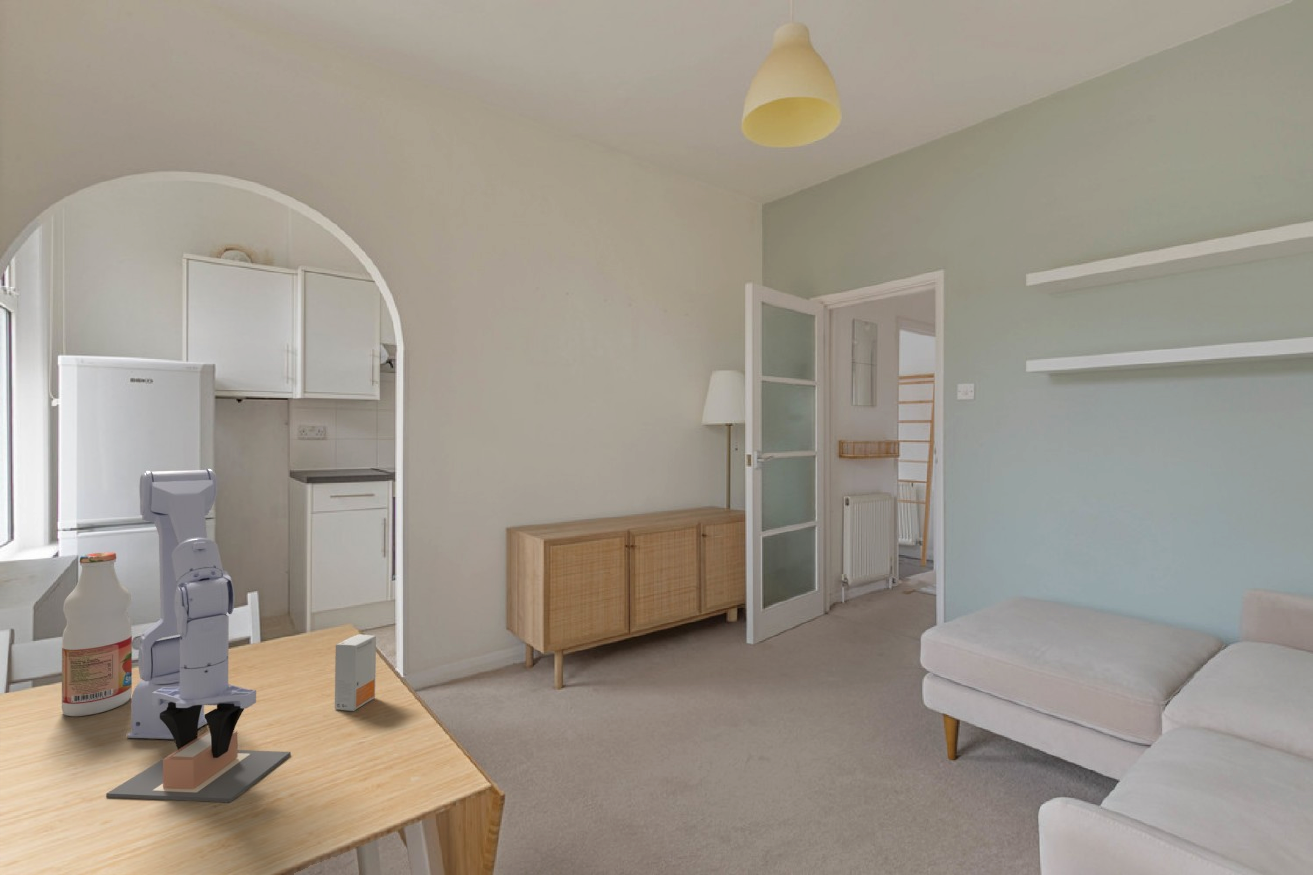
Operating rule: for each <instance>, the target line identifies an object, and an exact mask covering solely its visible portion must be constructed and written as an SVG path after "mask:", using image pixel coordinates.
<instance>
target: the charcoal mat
mask: <svg viewBox="0 0 1313 875" xmlns="http://www.w3.org/2000/svg"><path fill="white" fill-rule="evenodd" d="M291 753H292V752H291V751H281V750H280V751H278V750H277V751H276V750H273V751H272V750H253V749H252V750H247V749H246V750H245V749H244V750H242V749H238V757H237V758H236V759H234V760H233V761H232V762H230V763H229V764H227V765H226V766H225V767H223V768H222V769H220V770H219V771H218V772H216V773H215V774H214V775H212V776H211V777H209V778H208V779H207V780H205V781H204V782H203V783H201V784H200V785H198V786H197V787H196V788H194V789H184V788H163V759H164V758H162V759H160V760H159V761H157V762H156V763H154V764H153V765H151V766H149V767H148V768H145V769H144V770H142V771H141V772H139V773H138V774H136V775H134V776H133V777H131V778H130V779H128V780H126V781H125V782H123V783H122V784H119V785H118V786H117V787H115V788H112V789H111V790H110V791H108V792H106V795H105V797H106V798H117V799H118V798H119V799H120V798H121V799H139V800H140V799H142V800H143V799H144V800H145V799H146V800H165V801H167V800H168V801H169V800H171V801H187V802H189V801H191V802H192V801H194V802H216V803H232V802H233V801H234V800H235V799H236V798H238V797H239V796H241V795H242V794H243V793H245V792H246V791H247V790H248V789H250V788H251V787H252V786H253V785H255V784H256V783H257V782H259V781H260V780H261V779H263V777H264V776H267V774H269V773H270V772H272V770H274V769H275V768H276V767H278V765H280V764H281V763H283V761H285V760H287V759H288V758H290V756H291Z"/></svg>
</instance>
